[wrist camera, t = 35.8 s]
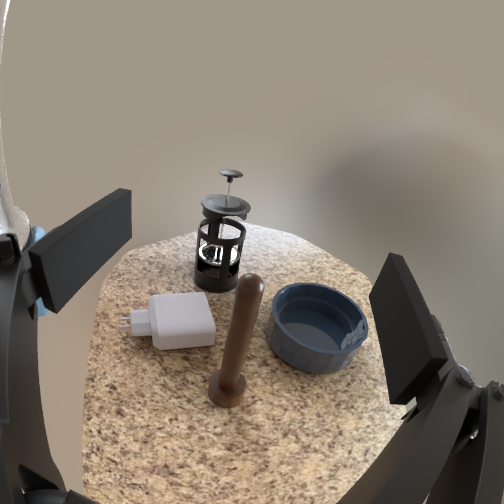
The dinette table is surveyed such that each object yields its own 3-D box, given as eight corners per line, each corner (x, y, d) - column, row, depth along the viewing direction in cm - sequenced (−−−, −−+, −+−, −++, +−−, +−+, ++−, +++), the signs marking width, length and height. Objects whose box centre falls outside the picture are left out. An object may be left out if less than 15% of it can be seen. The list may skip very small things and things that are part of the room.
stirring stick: (201, 397, 36) (215, 278, 25) (218, 373, 40) (240, 254, 29) (233, 413, 34) (267, 301, 24) (248, 388, 39) (286, 273, 28)
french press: (244, 293, 57) (268, 183, 46) (198, 297, 54) (212, 180, 42) (227, 260, 66) (244, 162, 55) (187, 262, 63) (197, 160, 51)
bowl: (248, 350, 45) (255, 325, 42) (283, 294, 59) (290, 271, 56) (345, 390, 40) (361, 369, 37) (359, 325, 55) (371, 303, 51)
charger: (120, 313, 46) (201, 308, 51) (121, 355, 39) (214, 347, 44) (117, 293, 43) (203, 289, 49) (116, 335, 36) (216, 328, 42)
